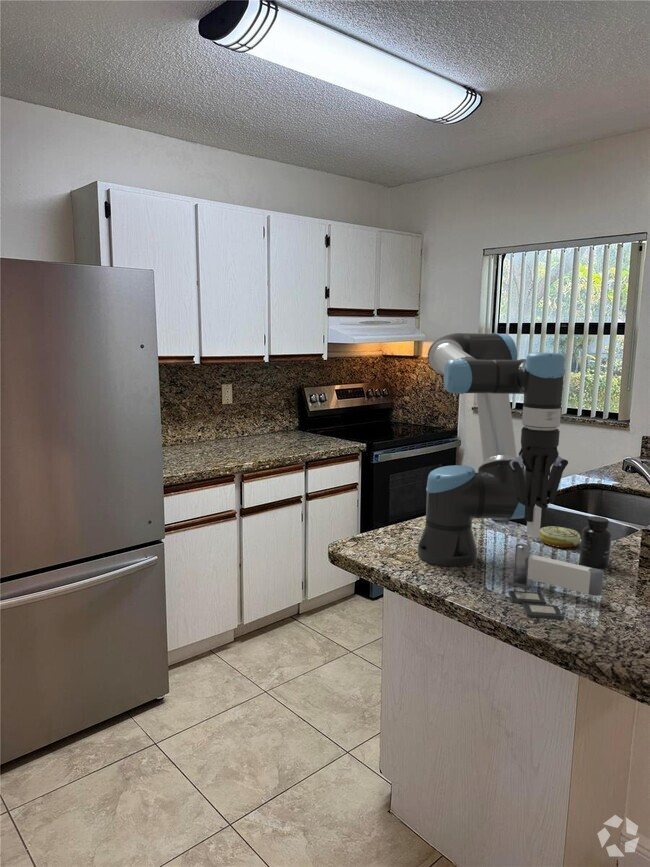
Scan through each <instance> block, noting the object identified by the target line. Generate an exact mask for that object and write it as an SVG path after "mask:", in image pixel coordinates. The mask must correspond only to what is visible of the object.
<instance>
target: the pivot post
mask: <svg viewBox="0 0 650 867" xmlns="http://www.w3.org/2000/svg"><path fill="white" fill-rule="evenodd" d="M514 550H515V551H514V552H515V553H514V568H513V573H511V574H510V576H509V577H508V579H507V580H506V585H507V586H511V587H517V588H522V589H526V590H527V589H528V590H530V588H531V586H532V585H533V582H534V580H531V579H528V565H529V557H530V545H529V544H525V543H516V544H515V549H514Z"/></svg>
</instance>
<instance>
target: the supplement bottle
mask: <svg viewBox="0 0 650 867" xmlns="http://www.w3.org/2000/svg"><path fill="white" fill-rule="evenodd" d="M609 522H610V521H609V519H608V518H605V517H603V516H596V515H594V516H588V517H587V522H586V526H585V527H584V528H583V529H582V532H581V538H580V549H579V550H580V552H579V563H580V564H581V566H585V567H590V568H595V569H600V570H605V569H607V568H608V567H609V565H610V556H611V548H612V539H613V538H612V536H613V535H612V532H611V531H610V530H609Z"/></svg>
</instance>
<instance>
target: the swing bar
mask: <svg viewBox="0 0 650 867" xmlns="http://www.w3.org/2000/svg"><path fill="white" fill-rule="evenodd" d="M604 573H605V572H604V571H603V569H595V568H590V567H586V566H584V565H582V564H581V565H580V564H575V563H571V562H566V561H563V560H558V559H553V558H548V557H545V556H539V555H534V554H532V555H530V556H529V561H528V575H527V577H528V579H531V580H533V581H535V582H538V583H539V582H540V583H542V584H547V585H550V586H551V585H552V586H556V587H559V588H564V589H568V590H573V591H575V592H580V593H584V594H588V595H590V596H594V597H600V596H602V595H603V583H604V575H605V574H604Z"/></svg>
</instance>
